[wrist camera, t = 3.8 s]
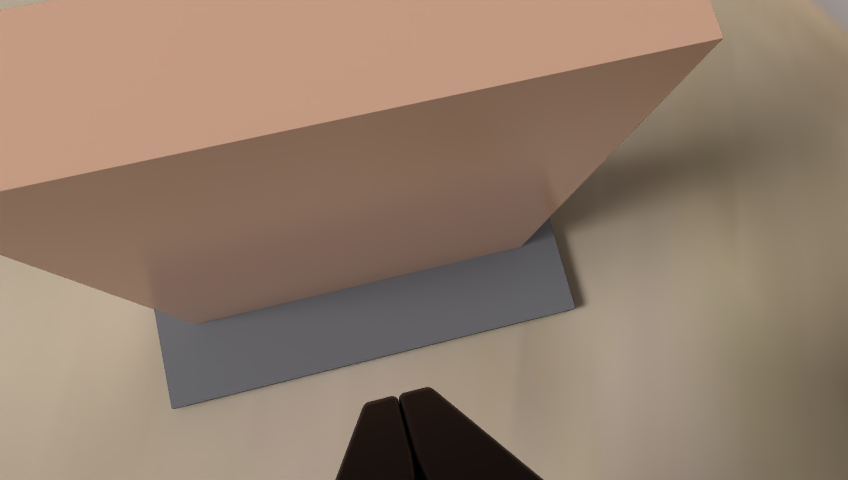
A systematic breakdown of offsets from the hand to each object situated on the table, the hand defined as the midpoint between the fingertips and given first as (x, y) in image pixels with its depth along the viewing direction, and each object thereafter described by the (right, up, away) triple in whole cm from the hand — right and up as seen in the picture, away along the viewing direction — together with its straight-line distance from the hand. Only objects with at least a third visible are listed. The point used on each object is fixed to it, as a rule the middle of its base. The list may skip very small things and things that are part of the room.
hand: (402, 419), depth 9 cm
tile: (-2, +2, +11) cm, 11 cm away
